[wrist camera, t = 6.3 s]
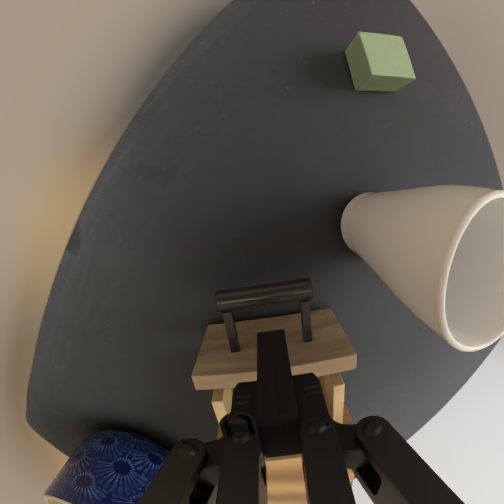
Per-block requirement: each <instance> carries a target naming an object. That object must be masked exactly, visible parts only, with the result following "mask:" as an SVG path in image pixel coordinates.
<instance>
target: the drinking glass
mask: <svg viewBox="0 0 504 504" xmlns="http://www.w3.org/2000/svg"><path fill="white" fill-rule="evenodd" d="M341 233H342V236H343V239H344V241H345V243H346V245H347V246H348V247H349V248H350V249H351V250H352V251H353V252H354V253H355V254H357V255H358V256H359V257H360V258H361V259H362V260H363V261H364V262H365V263H366V264H367V265H368V266H369V267H370V268H371V269H372V270H373V271H374V272H375V273H376V275H377V276H378V277H379V278H380V279H381V280H382V281H383V282H384V283H385V285H386V286H387V287H388V288H389V289H390V290H391V291H392V292H393V294H394V295H395V296H396V297H397V298H398V299H399V300H400V301H401V302H402V303H403V304H404V305H405V306H406V307H407V308H408V309H409V310H410V311H411V312H412V313H413V314H414V315H415V316H416V317H417V318H418V319H419V320H420V321H422V322H423V323H424V324H425V325H426V326H427V327H429V328H430V329H431V330H432V331H433V332H435V333H436V334H437V335H439V336H440V337H441V338H442V339H444V340H445V341H446V342H448V343H449V344H450V345H451V346H452V347H454V348H455V349H458V350H460V351H465V352H473V351H478V350H480V349H483V348H485V347H487V346H489V345H491V344H492V343H494V342H495V341H496V340H498V339H499V338H500V337H501V336H502V335H503V334H504V191H503V190H497V189H491V188H485V187H478V186H468V185H434V186H425V187H417V188H409V189H401V190H394V191H386V192H367V193H363V194H360V195H358V196H356V197H355V198H353V199H352V200H351V201H350V202H349V203H348V204H347V206H346V208H345V209H344V211H343V214H342V218H341Z"/></svg>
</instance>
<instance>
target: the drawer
mask: <svg viewBox="0 0 504 504" xmlns="http://www.w3.org/2000/svg"><path fill="white" fill-rule="evenodd" d="M312 298H313V291H312V284H311V281H310V279H309V278H304V279H297V280H291V281H284V282H278V283H271V284H264V285H257V286H250V287H243V288H235V289H228V290H220V291H216V305H217V309H218V311H219V312H223V318H224V324H214V325H208V327H207V330H206V333H205V336H204V339H203V342H202V345H201V348H200V351H199V354H198V357H197V360H196V363H195V366H194V369H193V373H192V376H191V377H192V380H193V383H194V386H195V389H196V390H207V389H214V391H213V396H212V401H211V403H212V406H213V409H214V412H215V414H216V417H217V420H218V423H220V420H221V419H222V418H223V417H224V416H225V415H227V414H229V413H231V405H232V395H233V389H234V388H235V386H236V385H237V383H238V382H249V381H257V333H259V332H266V331H274V330H281V329H284V331H285V337H286V343H287V349H288V354H289V360H290V366H291V372H292V375H299V374H305V373H311V372H313V373H314V374H315V375H316V376H317V377H318V378H319V381H320V384H321V388H322V391H323V395H324V398H325V402H326V405H327V409H328V412H329V415H330V417H331V418H332V419H333V420H334V421H336V422H338V423H341V424H343V409H344V387H345V384H344V382H343V379H342V377H341V375H340V372H343V371H348V370H352V369H356V360H357V354H356V352H355V350H354V349H353V347H352V345H351V343H350V341H349V340H348V338H347V336H346V334H345V333H344V331H343V329H342V328H341V326H340V324H339V322H338V321H337V319H336V317H335V315H334V314H333V312H332V310H331V309H330V308H327V309H321V310H315V311H310V302H309V300H311V299H312ZM293 302H299V303H300V313H297V314H291V315H284V316H278V317H271V318H263V319H256V320H248V321H240V322H235V320H234V315H233V311H236V310H244V309H251V308H259V307H266V306H273V305H280V304H286V303H293ZM219 426H220V425H219ZM220 429H221V428H220Z"/></svg>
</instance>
